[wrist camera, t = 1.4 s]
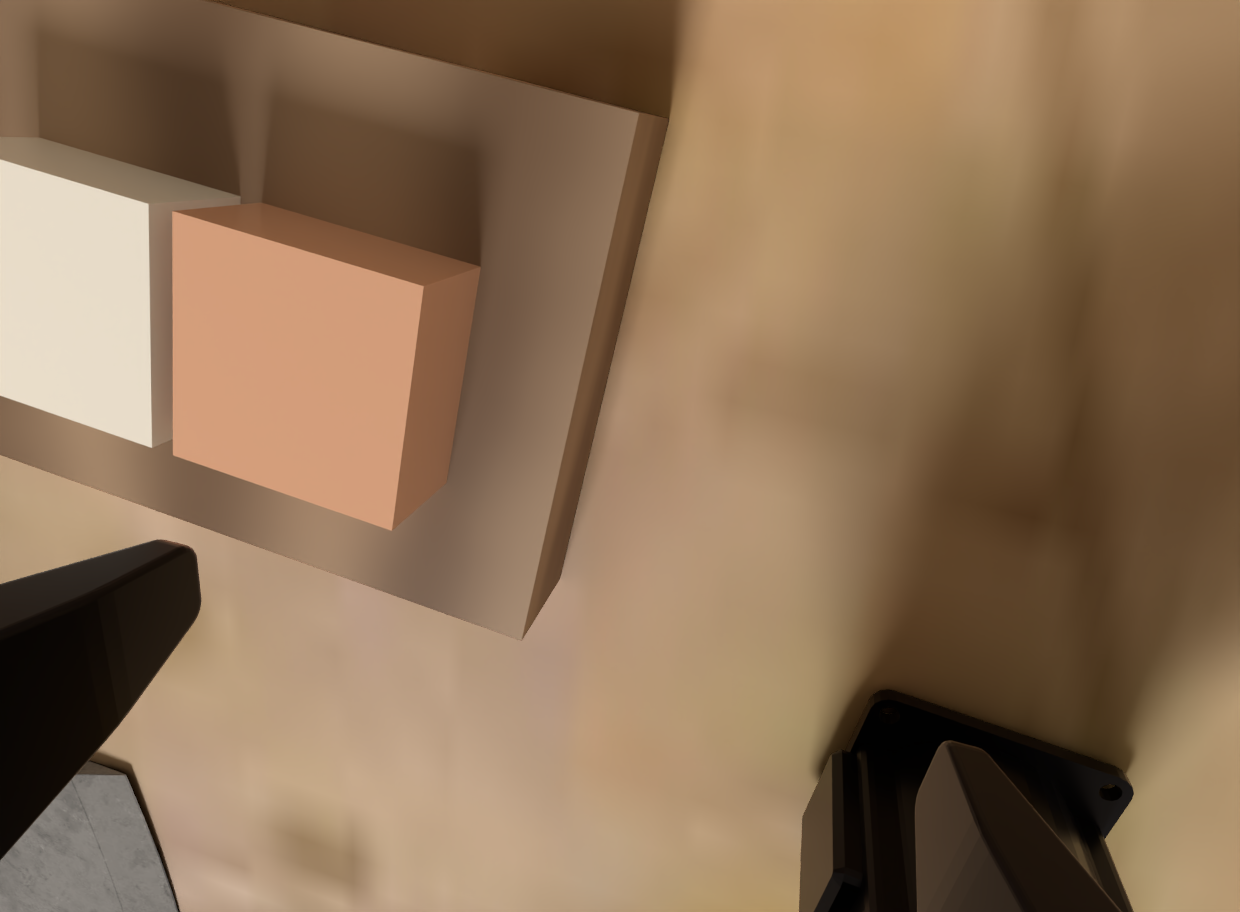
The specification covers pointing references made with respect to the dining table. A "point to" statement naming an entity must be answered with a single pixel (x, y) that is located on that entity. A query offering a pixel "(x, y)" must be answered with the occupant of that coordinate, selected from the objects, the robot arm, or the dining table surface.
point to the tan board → (384, 207)
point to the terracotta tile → (317, 358)
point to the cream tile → (90, 285)
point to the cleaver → (87, 853)
